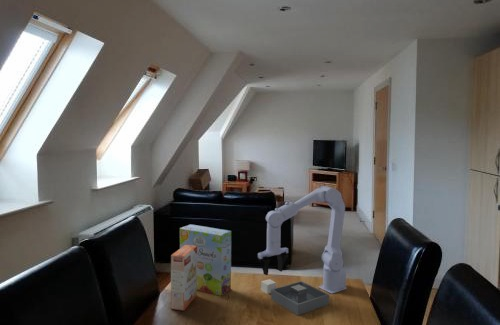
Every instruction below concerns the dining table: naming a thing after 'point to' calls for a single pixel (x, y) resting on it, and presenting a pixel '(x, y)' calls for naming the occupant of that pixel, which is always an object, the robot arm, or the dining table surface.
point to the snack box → (210, 257)
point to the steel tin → (298, 294)
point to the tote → (313, 302)
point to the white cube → (267, 286)
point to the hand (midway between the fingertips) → (273, 272)
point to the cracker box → (183, 277)
